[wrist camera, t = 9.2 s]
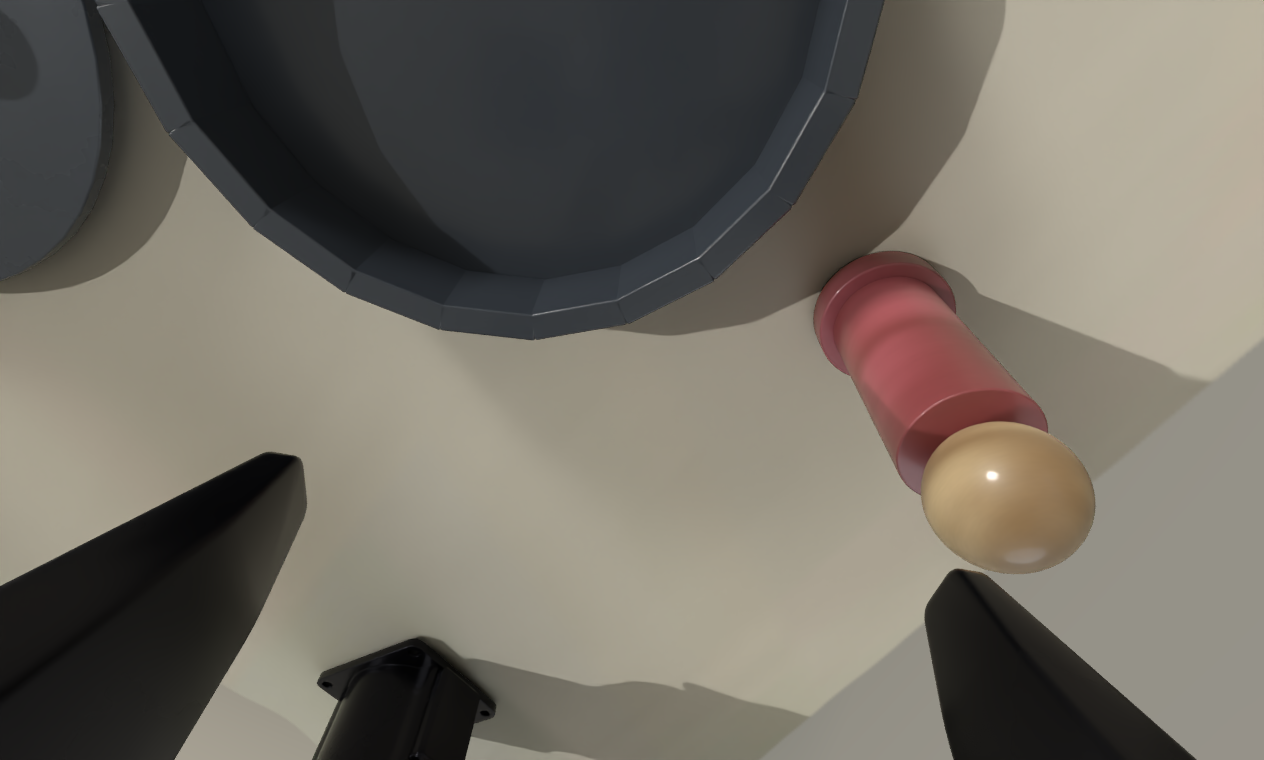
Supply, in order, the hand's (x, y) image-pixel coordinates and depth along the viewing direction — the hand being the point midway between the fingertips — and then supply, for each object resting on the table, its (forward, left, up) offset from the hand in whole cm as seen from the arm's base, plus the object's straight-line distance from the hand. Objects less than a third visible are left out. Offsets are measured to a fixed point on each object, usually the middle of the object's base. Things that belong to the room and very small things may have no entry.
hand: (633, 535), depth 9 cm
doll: (+5, -6, -12) cm, 14 cm away
